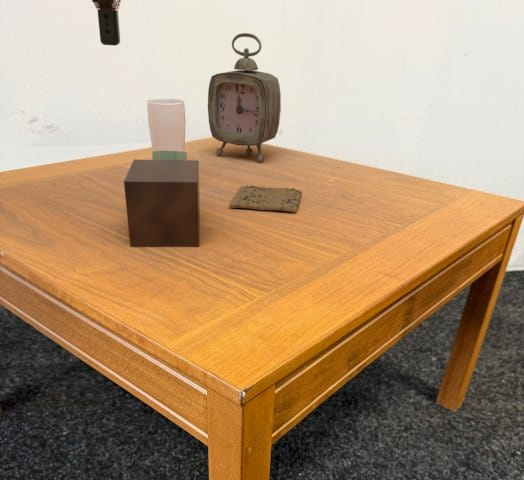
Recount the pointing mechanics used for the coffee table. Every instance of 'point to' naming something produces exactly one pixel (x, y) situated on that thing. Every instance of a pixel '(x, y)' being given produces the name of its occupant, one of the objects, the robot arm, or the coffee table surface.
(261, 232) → the coffee table surface
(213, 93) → the tabletop clock
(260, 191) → the cookie
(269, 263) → the coffee table surface
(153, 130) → the drinking glass
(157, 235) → the block
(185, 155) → the cup
